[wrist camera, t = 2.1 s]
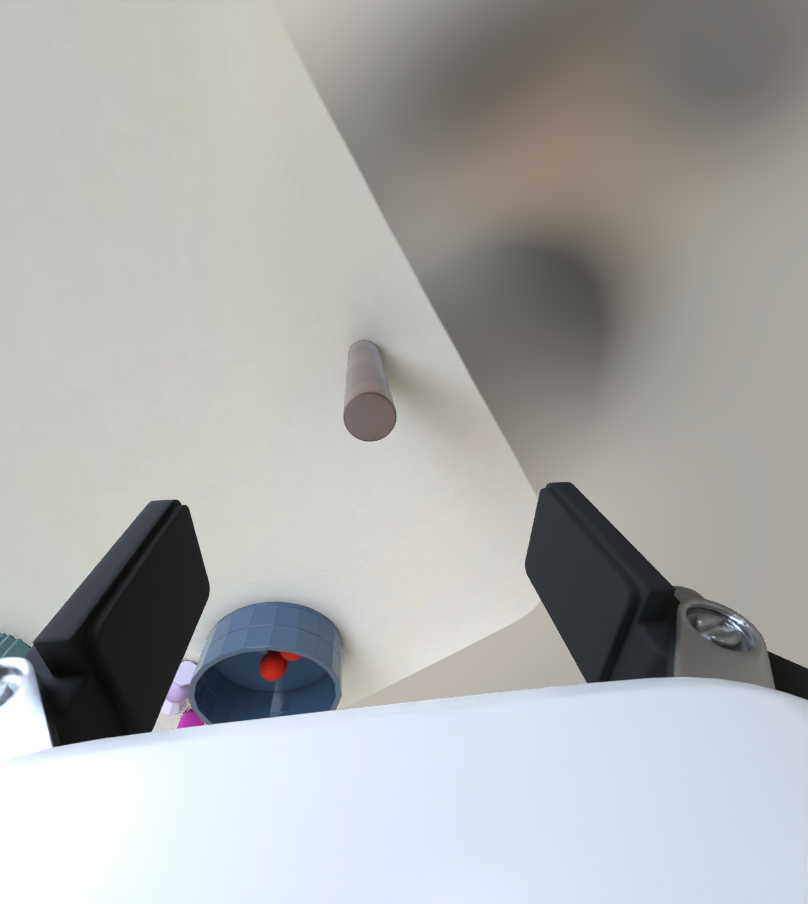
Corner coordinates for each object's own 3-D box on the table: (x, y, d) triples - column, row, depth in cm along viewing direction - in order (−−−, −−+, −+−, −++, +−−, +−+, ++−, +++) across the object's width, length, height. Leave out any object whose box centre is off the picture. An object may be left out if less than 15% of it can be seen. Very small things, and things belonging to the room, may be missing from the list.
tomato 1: (287, 643, 44) (283, 667, 42) (290, 660, 46) (286, 685, 43) (260, 645, 44) (254, 670, 41) (264, 663, 45) (258, 688, 43)
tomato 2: (307, 623, 43) (304, 647, 41) (310, 641, 45) (307, 665, 42) (280, 625, 43) (275, 649, 40) (283, 643, 44) (278, 668, 42)
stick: (380, 339, 31) (396, 391, 19) (380, 372, 32) (396, 441, 20) (347, 339, 31) (342, 392, 18) (348, 372, 32) (344, 442, 19)
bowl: (339, 597, 43) (337, 640, 38) (345, 684, 49) (344, 731, 44) (194, 607, 41) (172, 654, 36) (220, 696, 48) (205, 746, 43)
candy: (154, 654, 43) (126, 710, 38) (227, 668, 46) (210, 722, 40) (125, 744, 50) (97, 803, 44) (190, 752, 52) (171, 809, 47)
